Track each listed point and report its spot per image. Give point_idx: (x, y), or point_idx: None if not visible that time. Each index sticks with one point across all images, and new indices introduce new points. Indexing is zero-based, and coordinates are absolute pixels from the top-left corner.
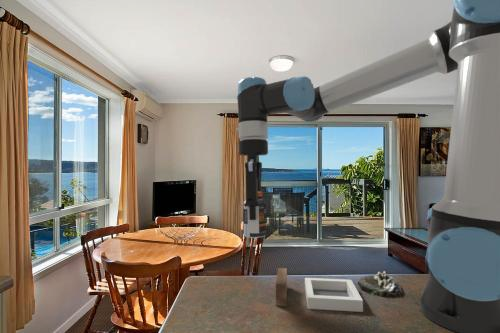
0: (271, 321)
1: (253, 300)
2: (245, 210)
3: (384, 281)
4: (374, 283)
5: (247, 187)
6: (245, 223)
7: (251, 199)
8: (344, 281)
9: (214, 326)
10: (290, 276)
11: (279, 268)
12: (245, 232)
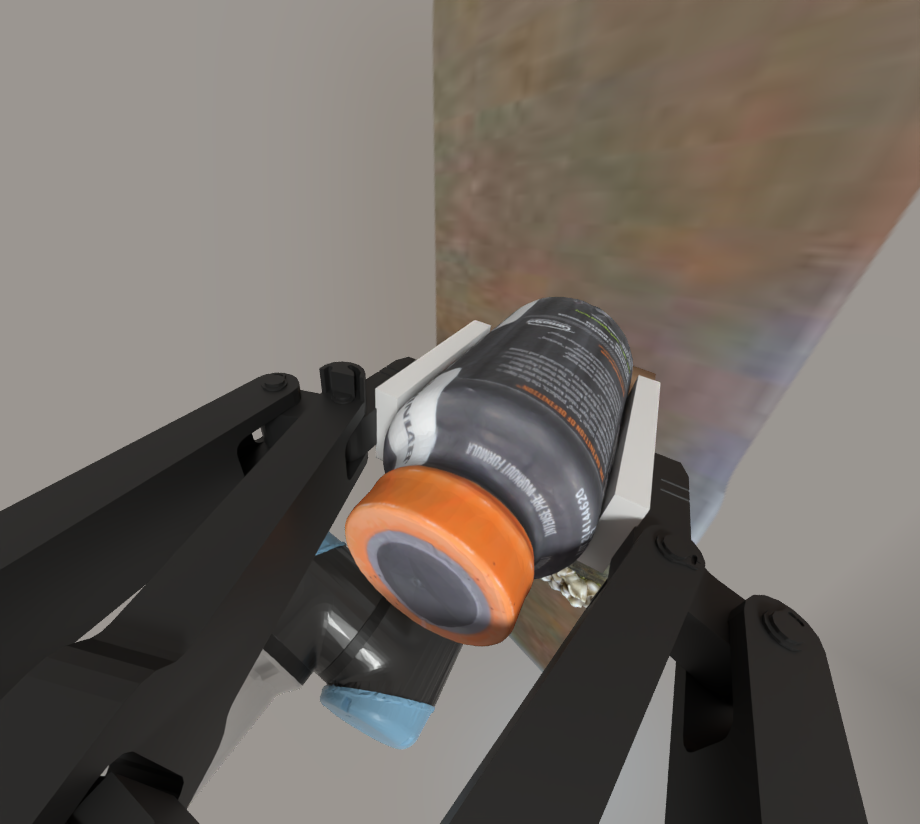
0: (459, 300)
1: (570, 271)
2: (447, 368)
3: (555, 576)
4: (575, 566)
5: (127, 460)
6: (495, 330)
7: (262, 427)
8: None
9: (442, 143)
10: (738, 445)
11: None
12: (516, 311)
